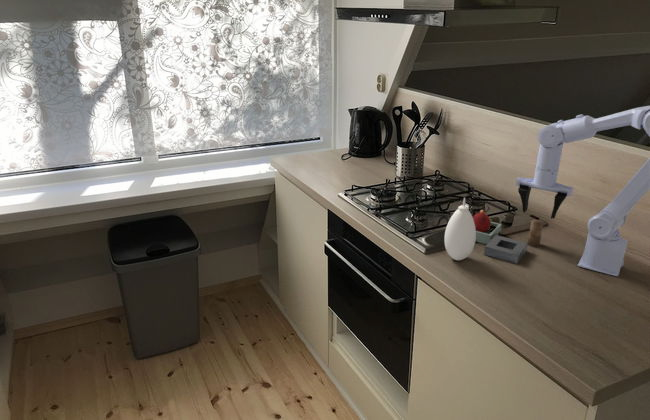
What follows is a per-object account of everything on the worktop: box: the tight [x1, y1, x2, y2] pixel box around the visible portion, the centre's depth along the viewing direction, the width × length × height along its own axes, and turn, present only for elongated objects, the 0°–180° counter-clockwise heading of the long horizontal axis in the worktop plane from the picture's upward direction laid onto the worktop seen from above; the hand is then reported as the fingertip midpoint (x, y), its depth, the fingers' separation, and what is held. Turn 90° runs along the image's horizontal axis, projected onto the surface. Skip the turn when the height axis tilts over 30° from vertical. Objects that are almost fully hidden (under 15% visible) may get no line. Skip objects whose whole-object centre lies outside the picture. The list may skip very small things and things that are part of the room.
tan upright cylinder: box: [527, 219, 544, 248], centre depth 146 cm, size 3×3×7 cm
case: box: [475, 221, 502, 245], centre depth 152 cm, size 10×10×3 cm
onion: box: [472, 209, 492, 233], centre depth 151 cm, size 6×6×8 cm
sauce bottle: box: [444, 197, 476, 261], centre depth 135 cm, size 8×8×18 cm
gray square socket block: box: [483, 235, 529, 265], centre depth 142 cm, size 9×9×2 cm
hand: (538, 214), depth 143 cm, fingers open, 7 cm apart
